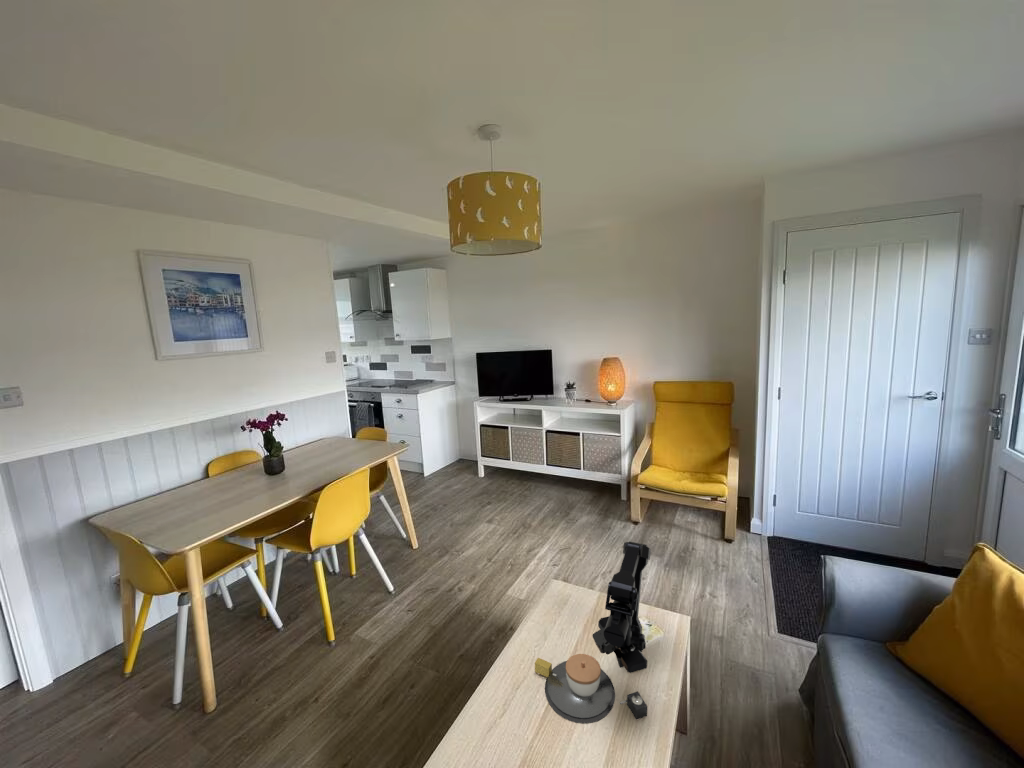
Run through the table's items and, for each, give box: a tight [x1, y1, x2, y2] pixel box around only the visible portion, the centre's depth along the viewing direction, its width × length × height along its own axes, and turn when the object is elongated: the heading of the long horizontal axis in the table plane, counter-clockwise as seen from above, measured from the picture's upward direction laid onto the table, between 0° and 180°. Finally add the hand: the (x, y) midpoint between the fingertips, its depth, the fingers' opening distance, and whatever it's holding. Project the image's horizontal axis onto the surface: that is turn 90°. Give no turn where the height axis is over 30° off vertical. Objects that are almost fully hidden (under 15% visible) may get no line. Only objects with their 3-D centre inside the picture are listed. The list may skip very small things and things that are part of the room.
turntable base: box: [544, 667, 616, 724], centre depth 133 cm, size 22×22×1 cm
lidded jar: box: [566, 653, 602, 697], centre depth 132 cm, size 11×11×9 cm
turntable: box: [534, 657, 613, 719], centre depth 134 cm, size 25×20×3 cm
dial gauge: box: [619, 691, 648, 721], centre depth 125 cm, size 6×5×4 cm
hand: (620, 666), depth 128 cm, fingers closed
